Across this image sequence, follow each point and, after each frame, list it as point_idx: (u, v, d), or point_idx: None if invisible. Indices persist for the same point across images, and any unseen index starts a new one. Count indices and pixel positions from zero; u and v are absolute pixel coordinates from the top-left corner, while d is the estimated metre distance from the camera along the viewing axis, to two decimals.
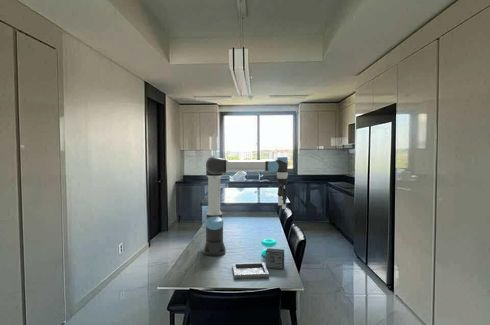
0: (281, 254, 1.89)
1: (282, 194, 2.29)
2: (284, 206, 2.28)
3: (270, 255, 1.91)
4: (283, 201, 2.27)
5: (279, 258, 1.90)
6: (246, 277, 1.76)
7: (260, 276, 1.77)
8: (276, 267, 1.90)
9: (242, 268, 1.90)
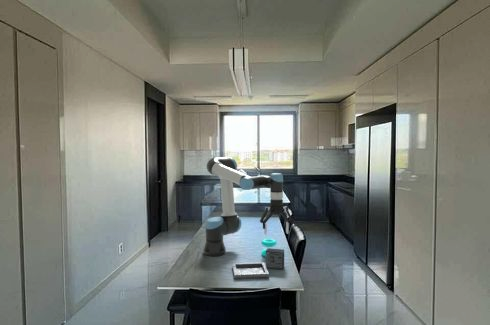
0: (281, 254, 1.89)
1: (266, 217, 1.95)
2: (264, 231, 1.94)
3: (270, 255, 1.91)
4: None
5: (279, 258, 1.90)
6: (246, 277, 1.76)
7: (260, 276, 1.77)
8: (276, 267, 1.90)
9: (242, 268, 1.90)
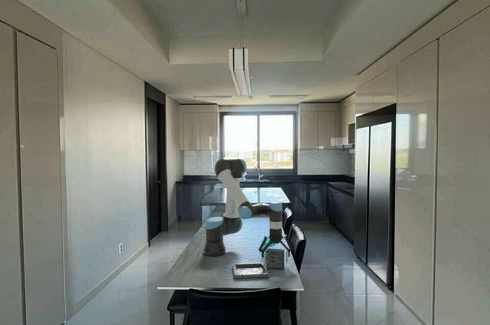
0: (281, 254, 1.89)
1: None
2: (263, 260, 1.92)
3: (270, 255, 1.91)
4: None
5: (279, 258, 1.90)
6: (246, 277, 1.76)
7: (260, 276, 1.77)
8: (276, 267, 1.90)
9: (242, 268, 1.90)
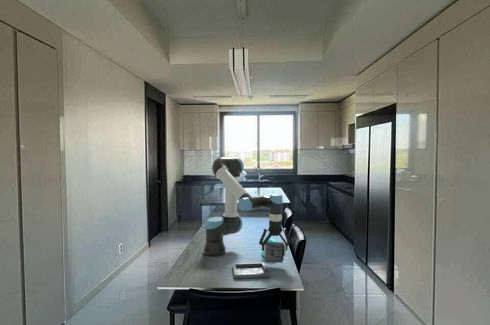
0: (281, 247, 1.89)
1: (265, 238, 1.93)
2: (263, 253, 1.93)
3: (269, 248, 1.91)
4: None
5: (278, 251, 1.90)
6: (246, 277, 1.76)
7: (260, 276, 1.77)
8: (275, 260, 1.91)
9: (242, 268, 1.90)
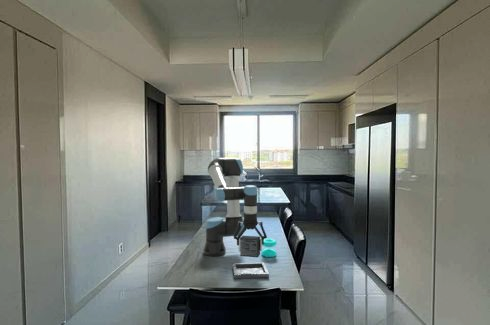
0: (256, 241, 1.80)
1: (240, 232, 1.84)
2: None
3: (244, 242, 1.82)
4: None
5: (254, 245, 1.80)
6: (246, 277, 1.76)
7: (260, 276, 1.77)
8: (251, 255, 1.81)
9: (242, 268, 1.90)
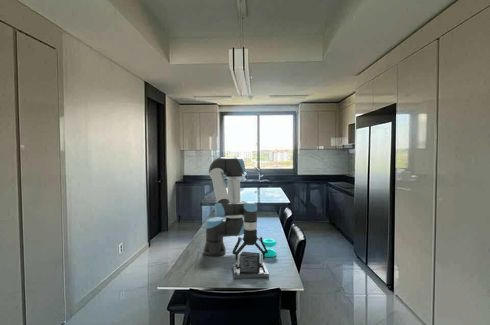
0: (256, 258, 1.81)
1: None
2: (237, 262, 1.84)
3: (244, 258, 1.82)
4: None
5: (254, 262, 1.81)
6: (246, 277, 1.76)
7: (260, 276, 1.77)
8: (251, 271, 1.82)
9: None
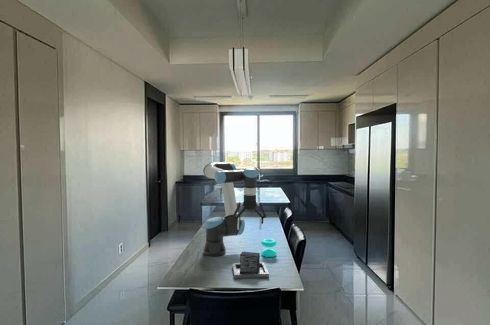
0: (256, 258, 1.81)
1: (239, 212, 1.95)
2: (237, 226, 1.94)
3: (244, 258, 1.82)
4: None
5: (254, 262, 1.81)
6: (246, 277, 1.76)
7: (260, 276, 1.77)
8: (251, 271, 1.82)
9: None
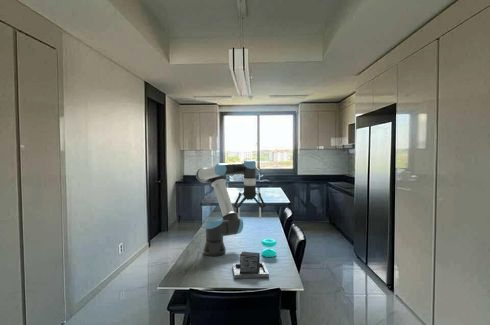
0: (256, 258, 1.81)
1: None
2: (238, 215, 2.04)
3: (244, 258, 1.82)
4: None
5: (254, 262, 1.81)
6: (246, 277, 1.76)
7: (260, 276, 1.77)
8: (251, 271, 1.82)
9: None
